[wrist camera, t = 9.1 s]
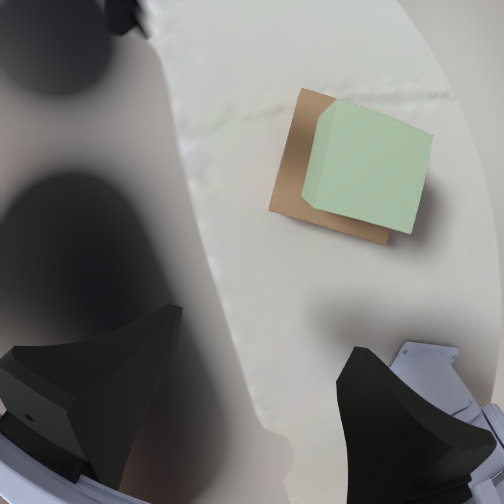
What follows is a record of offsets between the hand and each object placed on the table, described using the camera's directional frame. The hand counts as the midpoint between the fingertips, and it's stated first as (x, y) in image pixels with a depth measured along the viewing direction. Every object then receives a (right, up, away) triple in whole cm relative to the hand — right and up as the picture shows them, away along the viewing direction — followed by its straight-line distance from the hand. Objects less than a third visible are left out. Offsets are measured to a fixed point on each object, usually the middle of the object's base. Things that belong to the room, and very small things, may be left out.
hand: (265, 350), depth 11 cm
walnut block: (+6, +10, +8) cm, 14 cm away
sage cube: (+5, +9, +5) cm, 12 cm away
